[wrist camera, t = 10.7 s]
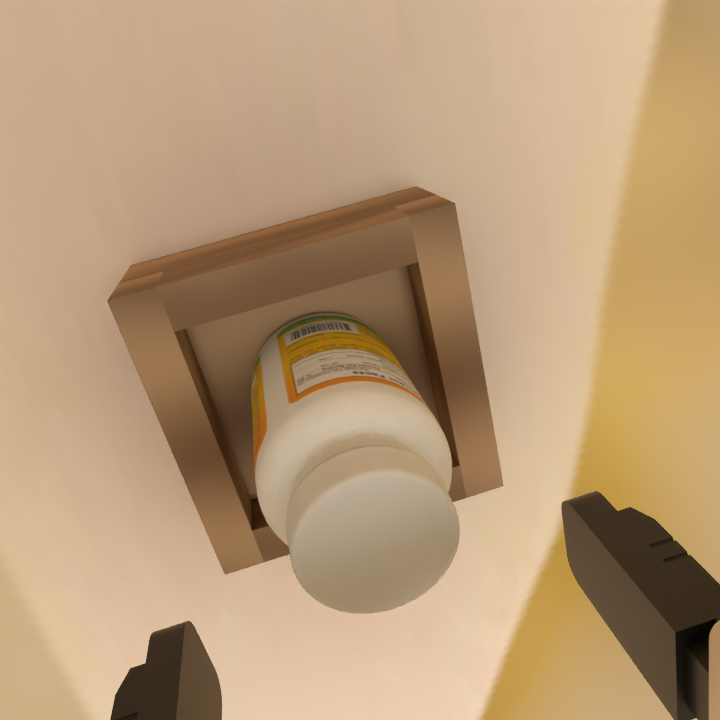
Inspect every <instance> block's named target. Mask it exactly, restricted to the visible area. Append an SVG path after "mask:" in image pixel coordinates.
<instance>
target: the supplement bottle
mask: <svg viewBox="0 0 720 720" xmlns="http://www.w3.org/2000/svg"><path fill="white" fill-rule="evenodd" d="M251 403H252V420H253V447H254V471H255V483H256V488H257V496H258V501H259V504H260V508H261V510H262V513H263V515H264V517H265V519H266V522H267V523H268V525H269V526H270V527H271V529H272V530H273V531H274V533H275V534H276V535H277V536H278V537H279V538H280V539H281V540H282V541H283V542H284V543H285V544H286V545H288V546H289V551H290V558H291V563H292V567H293V570H294V573H295V575H296V577H297V579H298V581H299V583H300V584H301V585H302V587H303V588H304V589H305V590H306V592H307V593H309V594H310V595H311V596H312V597H313V598H314V599H316V600H317V601H318V602H320V603H322V604H324V605H325V606H328V607H330V608H333V609H336V610H339V611H343V612H348V613H377V612H382V611H387V610H391V609H394V608H397V607H399V606H402V605H404V604H406V603H408V602H410V601H412V600H414V599H416V598H418V597H419V596H421V595H422V594H424V593H425V592H427V591H428V590H429V589H430V588H431V587H432V586H434V585H435V584H436V583H437V581H438V580H439V579H440V578H441V577H442V576H443V575H444V573H445V572H446V570H447V569H448V568H449V566H450V564H451V562H452V560H453V558H454V555H455V553H456V550H457V547H458V542H459V530H460V529H459V520H458V515H457V512H456V509H455V506H454V504H453V502H452V500H451V498H450V496H449V494H448V492H449V489H450V485H451V479H452V458H451V453H450V448H449V445H448V442H447V439H446V437H445V434H444V432H443V431H442V429H441V427H440V425H439V423H438V422H437V420H436V418H435V417H434V415H433V414H432V412H431V411H430V409H429V408H428V406H427V404H426V403H425V402H424V400H423V399H422V397H421V396H420V394H419V392H418V391H417V389H416V388H415V386H414V385H413V383H412V382H411V380H410V379H409V377H408V375H407V374H406V372H405V371H404V369H403V368H402V366H401V364H400V363H399V361H398V360H397V358H396V357H395V355H394V354H393V352H392V350H391V349H390V348H389V346H388V345H387V343H386V342H385V341H384V340H383V338H382V337H381V336H380V335H379V334H378V333H377V332H376V331H375V330H374V329H373V328H372V327H370V326H369V325H368V324H366V323H364V322H362V321H360V320H358V319H356V318H353V317H351V316H347V315H343V314H336V313H317V314H311V315H307V316H304V317H300V318H298V319H295V320H293V321H291V322H289V323H287V324H286V325H284V326H283V327H281V328H280V329H279V330H277V331H276V332H275V333H274V334H273V335H272V336H271V337H270V338H269V339H268V340H267V341H266V343H265V344H264V346H263V347H262V349H261V350H260V352H259V354H258V356H257V358H256V361H255V364H254V367H253V371H252V376H251Z"/></svg>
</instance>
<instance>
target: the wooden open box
mask: <svg viewBox="0 0 720 720" xmlns="http://www.w3.org/2000/svg"><path fill="white" fill-rule="evenodd" d="M108 304H109V306H110V308H111V311H112V313H113V315H114V318H115V320H116V322H117V325H118V327H119V329H120V332H121V334H122V336H123V339H124V341H125V343H126V346H127V348H128V350H129V352H130V355H131V357H132V359H133V362H134V364H135V366H136V369H137V371H138V373H139V376H140V378H141V380H142V383H143V385H144V387H145V390H146V392H147V394H148V397H149V399H150V401H151V404H152V406H153V408H154V411H155V413H156V415H157V418H158V420H159V422H160V425H161V427H162V429H163V432H164V434H165V436H166V439H167V441H168V443H169V445H170V448H171V450H172V452H173V455H174V457H175V459H176V462H177V464H178V466H179V469H180V471H181V473H182V476H183V478H184V480H185V483H186V485H187V487H188V490H189V492H190V494H191V497H192V499H193V501H194V504H195V506H196V508H197V511H198V513H199V515H200V518H201V520H202V522H203V525H204V527H205V529H206V532H207V534H208V536H209V538H210V541H211V543H212V545H213V548H214V550H215V552H216V555H217V557H218V559H219V562H220V564H221V566H222V569H223V571H224V573H225V574H228V573H231V572H235V571H238V570H241V569H244V568H247V567H250V566H253V565H257V564H260V563H263V562H266V561H269V560H272V559H275V558H279V557H282V556H285V555H288V554H290V551H289V546H288V545H286V544H285V543H284V542H283V541H282V540H281V539H280V538H279V537H278V536H277V535H276V534H275V533H274V531H273V530H272V529H271V527H270V526H269V525H268V523H267V522H266V519H265V517H264V515H263V513H262V510H261V508H260V504H259V501H258V496H257V488H256V483H255V471H254V447H253V420H252V403H251V376H252V371H253V367H254V364H255V361H256V358H257V356H258V354H259V352H260V350H261V349H262V347H263V346H264V344H265V343H266V341H267V340H268V339H269V338H270V337H271V336H272V335H273V334H274V333H275V332H276V331H277V330H279V329H280V328H281V327H283V326H284V325H286V324H287V323H289V322H291V321H293V320H295V319H298V318H300V317H304V316H307V315H311V314H317V313H336V314H343V315H347V316H351V317H353V318H356V319H358V320H360V321H362V322H364V323H366V324H368V325H369V326H370V327H372V328H373V329H374V330H375V331H376V332H377V333H378V334H379V335H380V336H381V337H382V338H383V340H384V341H385V342H386V343H387V345H388V346H389V348H390V349H391V350H392V352H393V354H394V355H395V357H396V358H397V360H398V361H399V363H400V364H401V366H402V368H403V369H404V371H405V372H406V374H407V375H408V377H409V379H410V380H411V382H412V383H413V385H414V386H415V388H416V389H417V391H418V392H419V394H420V396H421V397H422V399H423V400H424V402H425V403H426V404H427V406H428V408H429V409H430V411H431V412H432V414H433V415H434V417H435V418H436V420H437V422H438V423H439V425H440V427H441V429H442V431H443V432H444V434H445V437H446V439H447V442H448V445H449V448H450V453H451V458H452V479H451V485H450V489H449V492H448V494H449V496H450V498H451V500H452V502H454V501H458V500H461V499H464V498H467V497H470V496H473V495H476V494H480V493H483V492H486V491H489V490H492V489H495V488H498V487H502V486H503V480H502V475H501V469H500V463H499V457H498V451H497V446H496V440H495V434H494V428H493V422H492V416H491V411H490V405H489V399H488V393H487V387H486V381H485V376H484V370H483V364H482V358H481V352H480V347H479V341H478V335H477V329H476V323H475V317H474V312H473V306H472V300H471V294H470V288H469V283H468V277H467V271H466V265H465V259H464V253H463V248H462V242H461V236H460V230H459V224H458V219H457V213H456V207H455V203H453V202H451V201H449V200H446V199H444V198H442V197H440V196H437V195H435V194H433V193H430V192H428V191H426V190H424V189H421V188H419V187H413V188H410V189H406V190H402V191H399V192H395V193H392V194H388V195H384V196H381V197H377V198H374V199H370V200H366V201H363V202H359V203H356V204H352V205H348V206H345V207H341V208H338V209H334V210H330V211H327V212H323V213H320V214H316V215H312V216H309V217H305V218H302V219H298V220H294V221H291V222H287V223H284V224H280V225H276V226H273V227H269V228H266V229H262V230H258V231H255V232H251V233H248V234H244V235H240V236H237V237H233V238H230V239H226V240H222V241H219V242H215V243H212V244H208V245H204V246H201V247H197V248H194V249H190V250H186V251H183V252H179V253H176V254H172V255H168V256H165V257H161V258H158V259H154V260H150V261H147V262H143V263H140V264H136V265H132V266H130V268H129V269H128V271H127V272H126V274H125V275H124V277H123V278H122V280H121V281H120V283H119V284H118V286H117V287H116V289H115V290H114V292H113V293H112V295H111V296H110V298H109V299H108Z"/></svg>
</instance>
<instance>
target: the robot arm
mask: <svg viewBox="0 0 720 720" xmlns="http://www.w3.org/2000/svg"><path fill="white" fill-rule="evenodd" d="M562 517H563V525H564V533H565V541H566V550H567V557H568V561H569V565H570V567H571V570H572V572H573V575H574V577H575V579H576V581H577V582H578V584H579V586H580V587H581V588H582V590H583V591H584V593H585V594H586V595H587V597H588V598H589V600H590V601H591V603H592V604H593V605H594V607H595V608H596V610H597V611H598V613H599V614H600V615H601V617H602V618H603V620H604V621H605V622H606V624H607V625H608V627H609V628H610V630H611V631H612V632H613V634H614V635H615V637H616V638H617V639H618V641H619V642H620V643H621V645H622V647H623V648H624V649H625V651H626V652H627V653H628V655H629V656H630V658H631V659H632V661H633V662H634V664H635V665H636V666H637V668H638V669H639V671H640V672H641V673H642V675H643V676H644V678H645V679H646V681H647V682H648V683H649V685H650V686H651V688H652V689H653V690H654V692H655V693H656V695H657V696H658V697H659V699H660V700H661V702H662V703H663V704H664V706H665V707H666V709H667V710H668V712H669V713H670V714H671V716H672V717H673V719H674V720H692V719H694V718H697V719H698V720H720V584H719V583H718V582H717V581H716V580H715V579H714V578H713V577H712V576H711V575H710V574H709V573H708V572H707V571H706V570H705V569H704V568H703V567H702V566H701V565H700V564H699V563H698V562H697V561H696V560H695V559H694V558H693V557H692V556H691V555H690V556H689V555H688V554H687V551H686V550H685V549H684V548H683V547H682V546H681V545H680V544H679V543H678V542H677V541H674V540H673V538H672V536H671V535H670V534H669V533H668V532H667V531H666V530H665V529H664V528H663V527H662V526H661V525H660V524H659V523H658V522H657V521H656V520H655V519H653V518H651V517H649V516H647V515H645V514H643V513H641V512H639V511H637V510H635V509H633V508H631V507H629V508H626V509H623V510H620V511H617V510H616V509H615V508H614V507H613V506H612V505H611V504H610V503H609V502H608V501H607V499H606V498H605V497H604V496H603V495H602V494H601V493H599V492H597V491H595V492H592V493H589V494H585V495H582V496H579V497H577V498H573V499H570V500H567V501H564V502H563V503H562ZM111 720H222V696H221V689H220V683H219V679H218V676H217V673H216V670H215V668H214V666H213V664H212V662H211V660H210V658H209V656H208V654H207V652H206V650H205V647H204V645H203V643H202V641H201V639H200V637H199V635H198V633H197V631H196V629H195V627H194V625H193V624H192V623H191V622H190V621H187V622H184V623H181V624H178V625H174V626H171V627H168V628H165V629H162V630H159V631H156V632H153V633H152V634H151V636H150V640H149V646H148V652H147V659H146V663H145V664H142V665H139V666H136V667H133V668H130V670H129V672H128V674H127V675H126V677H125V679H124V681H123V682H122V684H121V686H120V688H119V689H118V691H117V693H116V695H115V700H114V705H113V710H112V715H111Z"/></svg>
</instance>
